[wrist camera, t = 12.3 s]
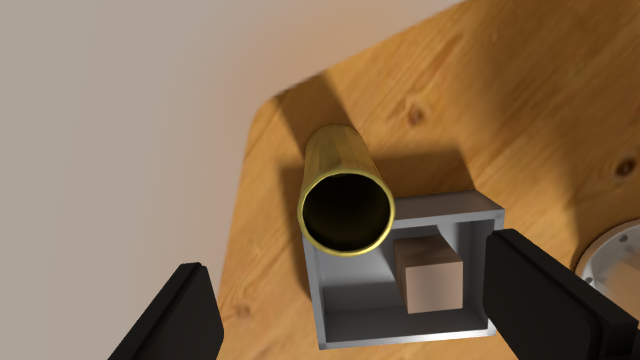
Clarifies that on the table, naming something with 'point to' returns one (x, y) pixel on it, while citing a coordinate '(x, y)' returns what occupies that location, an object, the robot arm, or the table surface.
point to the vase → (343, 195)
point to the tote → (380, 282)
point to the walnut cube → (428, 274)
